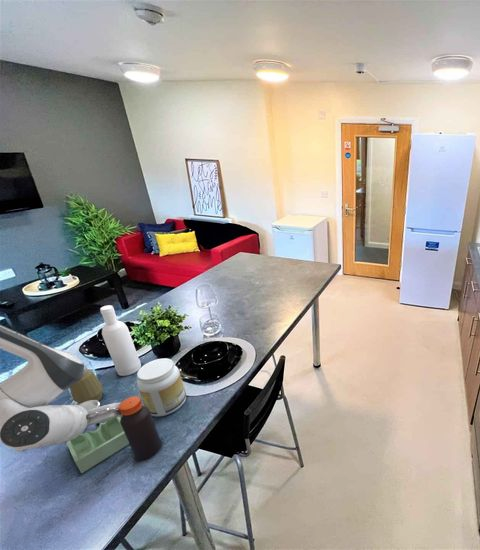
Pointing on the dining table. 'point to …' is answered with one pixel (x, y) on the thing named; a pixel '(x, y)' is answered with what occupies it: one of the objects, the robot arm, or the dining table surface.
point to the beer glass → (95, 428)
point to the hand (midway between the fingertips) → (87, 421)
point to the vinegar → (139, 428)
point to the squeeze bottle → (87, 388)
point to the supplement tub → (161, 387)
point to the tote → (93, 457)
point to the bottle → (119, 343)
